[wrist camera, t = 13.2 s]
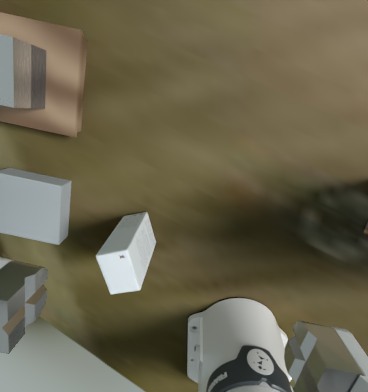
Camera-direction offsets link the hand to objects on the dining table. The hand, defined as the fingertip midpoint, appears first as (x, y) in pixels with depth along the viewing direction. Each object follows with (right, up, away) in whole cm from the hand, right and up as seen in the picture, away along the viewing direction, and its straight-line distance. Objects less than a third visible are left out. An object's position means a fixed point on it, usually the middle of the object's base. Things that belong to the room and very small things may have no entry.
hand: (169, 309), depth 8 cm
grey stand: (-23, +3, +33) cm, 41 cm away
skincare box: (-7, -2, +34) cm, 35 cm away
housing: (-20, +19, +24) cm, 37 cm away
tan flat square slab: (-19, +20, +27) cm, 39 cm away
